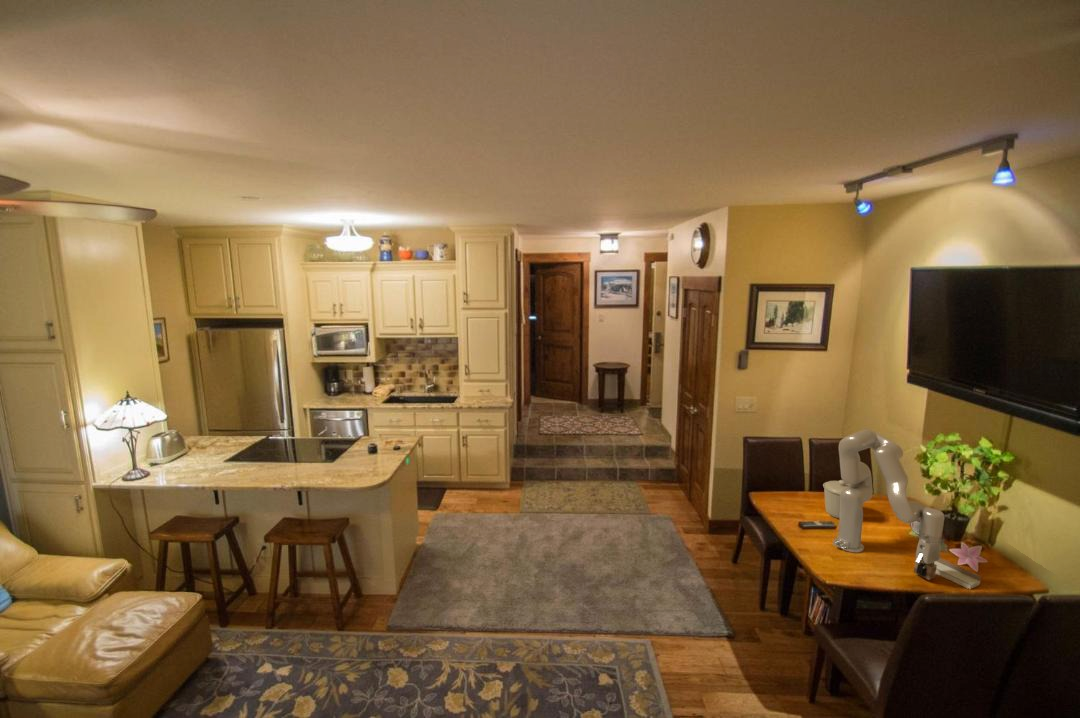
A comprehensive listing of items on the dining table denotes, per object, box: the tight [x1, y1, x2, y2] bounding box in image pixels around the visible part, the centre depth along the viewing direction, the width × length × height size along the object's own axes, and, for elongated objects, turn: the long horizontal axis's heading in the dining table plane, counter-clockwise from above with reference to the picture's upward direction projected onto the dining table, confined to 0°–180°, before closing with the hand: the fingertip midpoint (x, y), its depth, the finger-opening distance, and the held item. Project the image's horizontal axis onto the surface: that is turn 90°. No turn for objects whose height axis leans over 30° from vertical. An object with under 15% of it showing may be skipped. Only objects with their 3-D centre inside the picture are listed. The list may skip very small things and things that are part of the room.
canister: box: [822, 479, 850, 520], centre depth 260 cm, size 18×18×21 cm
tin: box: [909, 519, 944, 541], centre depth 237 cm, size 15×3×8 cm, turn 12°
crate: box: [913, 559, 937, 581], centre depth 205 cm, size 5×6×6 cm
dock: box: [934, 557, 982, 590], centre depth 207 cm, size 8×19×4 cm, turn 23°
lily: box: [948, 541, 989, 572], centre depth 214 cm, size 12×12×10 cm
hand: (924, 572), depth 206 cm, fingers closed on crate, 4 cm apart
